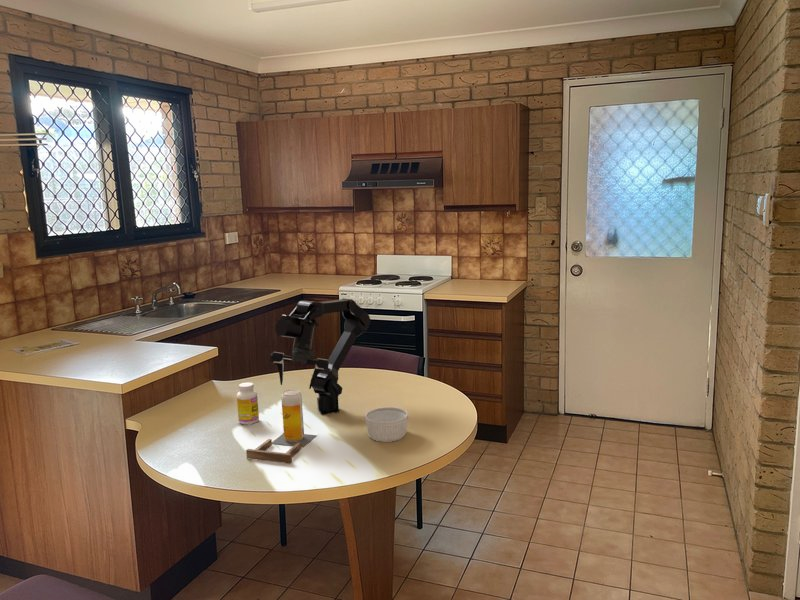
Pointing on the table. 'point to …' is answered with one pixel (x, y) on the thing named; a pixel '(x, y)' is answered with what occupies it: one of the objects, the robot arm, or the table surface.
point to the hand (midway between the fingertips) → (295, 386)
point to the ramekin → (386, 423)
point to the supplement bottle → (247, 404)
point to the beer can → (292, 415)
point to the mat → (304, 441)
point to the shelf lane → (273, 453)
